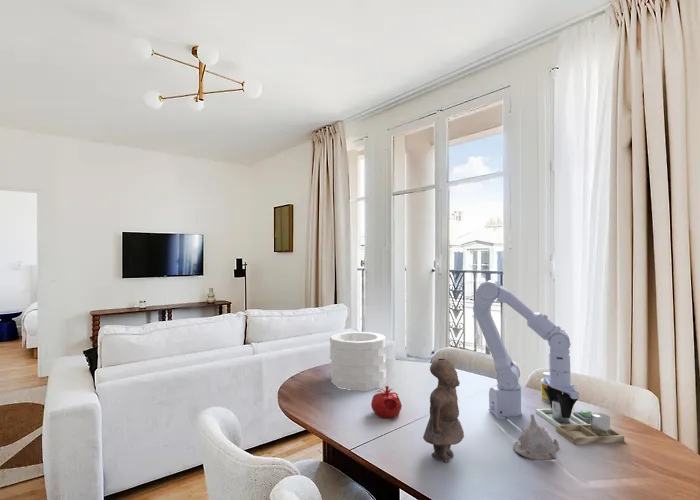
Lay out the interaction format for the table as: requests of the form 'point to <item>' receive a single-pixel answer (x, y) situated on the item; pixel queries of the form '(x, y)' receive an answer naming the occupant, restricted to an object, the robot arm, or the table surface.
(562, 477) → the table surface
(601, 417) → the cylinder
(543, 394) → the supplement bottle
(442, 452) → the clay figurine
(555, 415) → the billet
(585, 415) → the button
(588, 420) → the frame
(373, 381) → the basket
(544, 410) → the pale green tray
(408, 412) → the table surface
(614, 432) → the divided tray
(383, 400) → the pomegranate
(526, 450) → the seashell
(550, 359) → the robot arm
